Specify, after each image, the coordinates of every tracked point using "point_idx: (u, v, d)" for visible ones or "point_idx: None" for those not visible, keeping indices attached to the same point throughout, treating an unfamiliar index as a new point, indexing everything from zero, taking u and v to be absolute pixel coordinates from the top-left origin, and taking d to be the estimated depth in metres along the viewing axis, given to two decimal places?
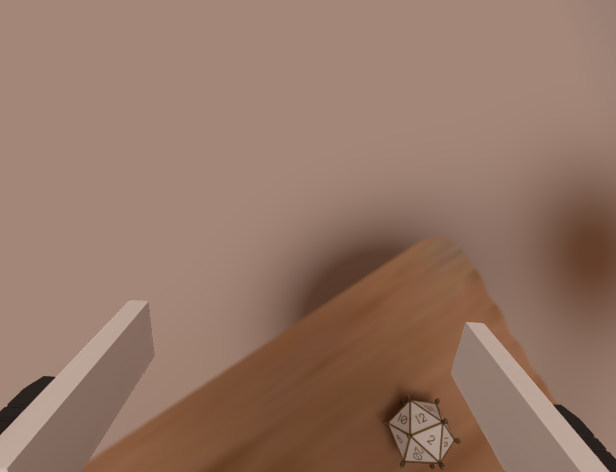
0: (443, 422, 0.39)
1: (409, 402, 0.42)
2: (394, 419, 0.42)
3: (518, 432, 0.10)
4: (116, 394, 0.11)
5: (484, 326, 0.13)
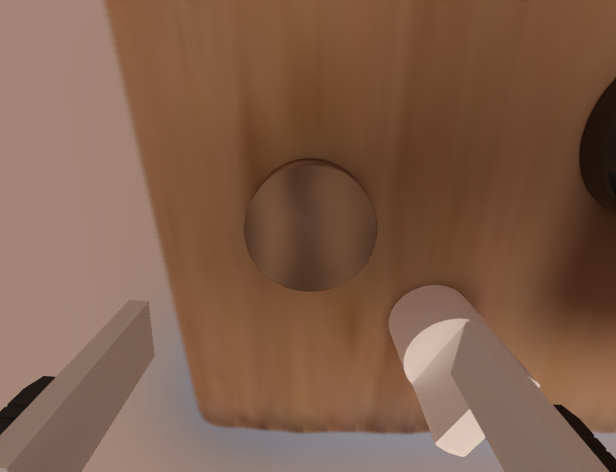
0: None
1: None
2: None
3: (518, 432, 0.10)
4: (116, 394, 0.11)
5: (484, 326, 0.13)
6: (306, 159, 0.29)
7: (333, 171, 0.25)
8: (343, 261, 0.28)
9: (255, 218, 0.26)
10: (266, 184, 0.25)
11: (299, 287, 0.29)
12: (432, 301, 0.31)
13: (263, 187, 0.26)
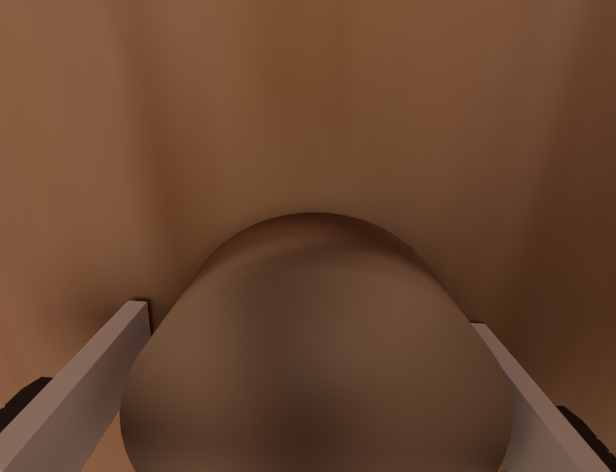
0: None
1: None
2: None
3: (520, 433, 0.10)
4: (114, 394, 0.11)
5: (485, 327, 0.13)
6: (305, 218, 0.11)
7: (394, 288, 0.07)
8: None
9: (151, 409, 0.09)
10: (174, 323, 0.08)
11: None
12: None
13: (165, 332, 0.08)
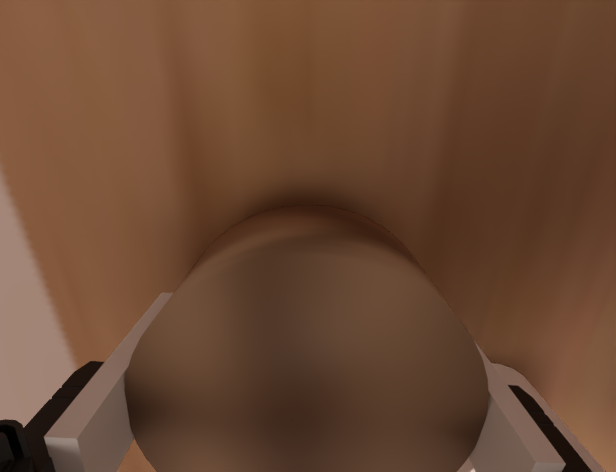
0: None
1: None
2: None
3: None
4: None
5: None
6: (298, 211, 0.12)
7: (377, 272, 0.08)
8: None
9: (154, 387, 0.10)
10: (175, 305, 0.09)
11: None
12: None
13: (167, 313, 0.09)
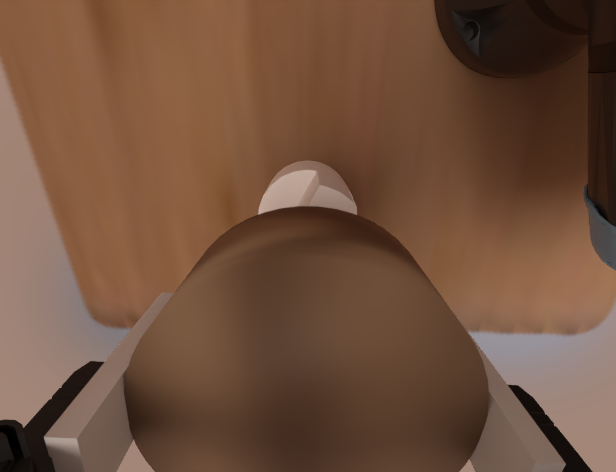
0: None
1: None
2: None
3: None
4: None
5: None
6: (298, 212, 0.12)
7: (377, 274, 0.08)
8: None
9: (153, 389, 0.09)
10: (174, 307, 0.09)
11: None
12: (294, 166, 0.31)
13: (166, 315, 0.09)
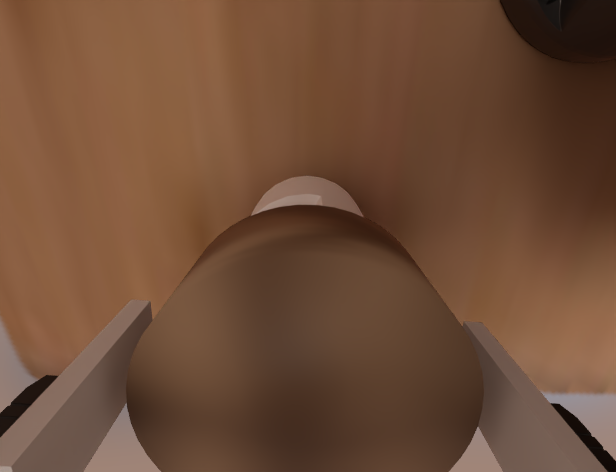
0: None
1: None
2: None
3: (516, 431, 0.10)
4: (118, 393, 0.11)
5: (482, 325, 0.13)
6: (296, 210, 0.12)
7: (374, 269, 0.08)
8: (387, 471, 0.11)
9: (155, 384, 0.10)
10: (176, 303, 0.09)
11: None
12: (287, 186, 0.22)
13: (168, 311, 0.09)
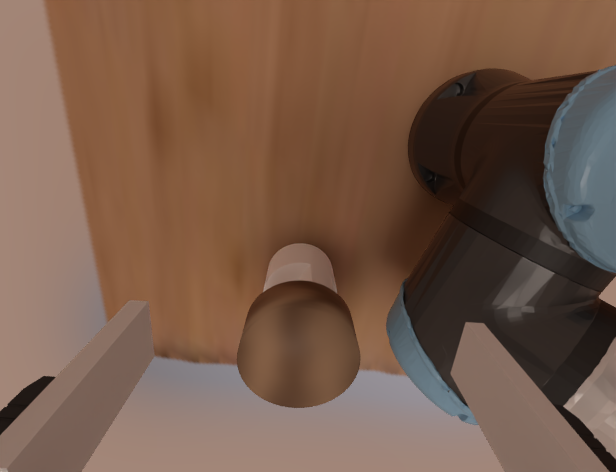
0: None
1: None
2: None
3: (518, 432, 0.10)
4: (115, 394, 0.11)
5: (484, 326, 0.13)
6: (301, 284, 0.31)
7: (325, 315, 0.27)
8: (326, 385, 0.30)
9: (249, 346, 0.28)
10: (262, 320, 0.27)
11: (283, 403, 0.31)
12: (293, 252, 0.40)
13: (259, 322, 0.27)
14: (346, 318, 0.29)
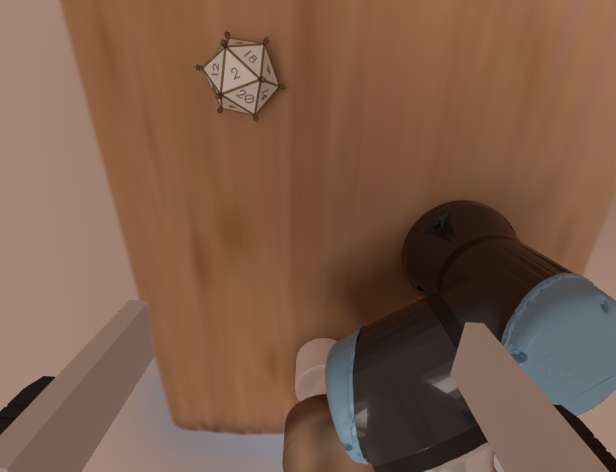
0: (223, 46, 0.31)
1: (203, 71, 0.34)
2: (217, 98, 0.36)
3: (518, 432, 0.10)
4: (116, 394, 0.11)
5: (484, 326, 0.13)
6: (326, 399, 0.40)
7: None
8: None
9: (291, 456, 0.37)
10: (300, 439, 0.36)
11: None
12: (316, 351, 0.49)
13: (297, 441, 0.36)
14: None
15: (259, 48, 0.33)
